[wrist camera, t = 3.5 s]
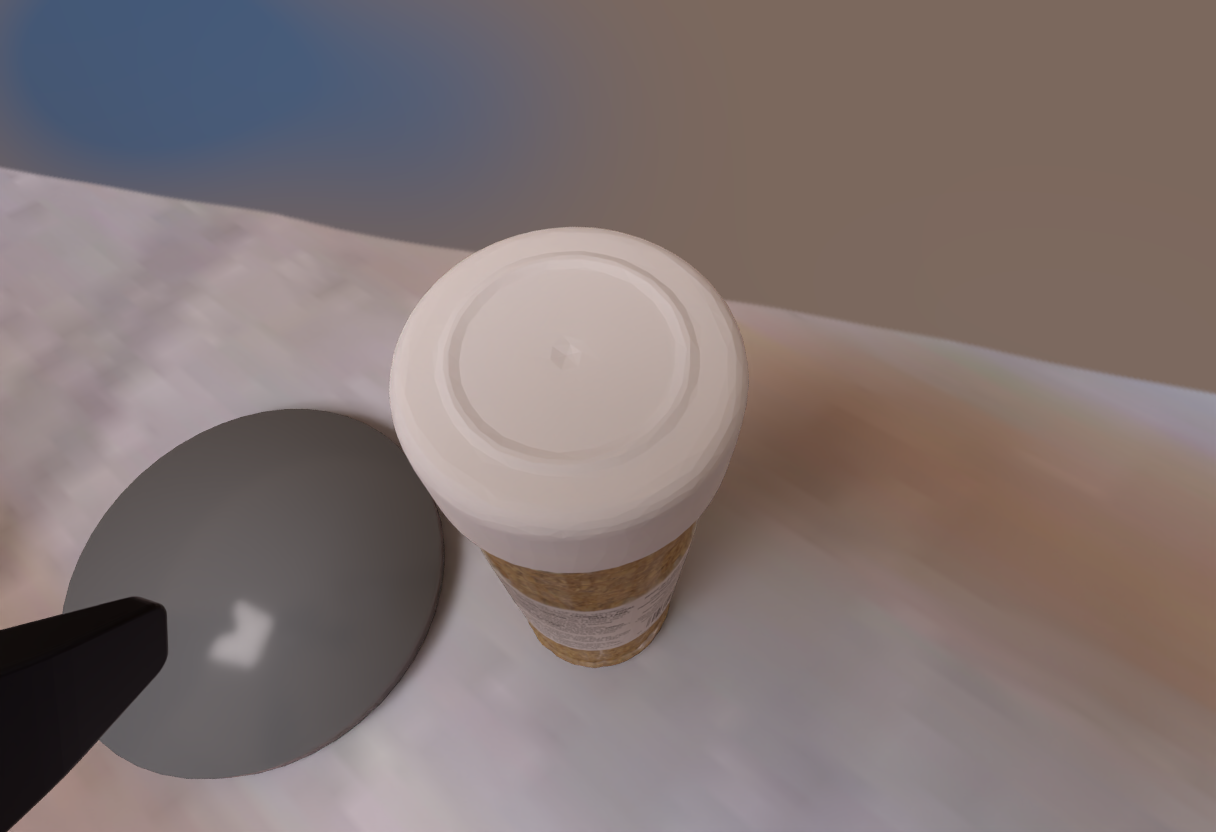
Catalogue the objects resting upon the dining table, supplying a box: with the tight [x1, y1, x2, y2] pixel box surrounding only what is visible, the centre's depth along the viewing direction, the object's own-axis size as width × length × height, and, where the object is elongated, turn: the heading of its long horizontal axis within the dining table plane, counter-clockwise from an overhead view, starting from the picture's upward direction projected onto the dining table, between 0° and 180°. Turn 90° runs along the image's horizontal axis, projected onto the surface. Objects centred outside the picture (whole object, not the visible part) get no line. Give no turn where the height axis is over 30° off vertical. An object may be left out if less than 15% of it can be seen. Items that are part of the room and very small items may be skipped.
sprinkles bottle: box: [389, 227, 749, 668], centre depth 14 cm, size 5×5×14 cm
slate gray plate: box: [63, 409, 444, 779], centre depth 20 cm, size 11×11×1 cm
